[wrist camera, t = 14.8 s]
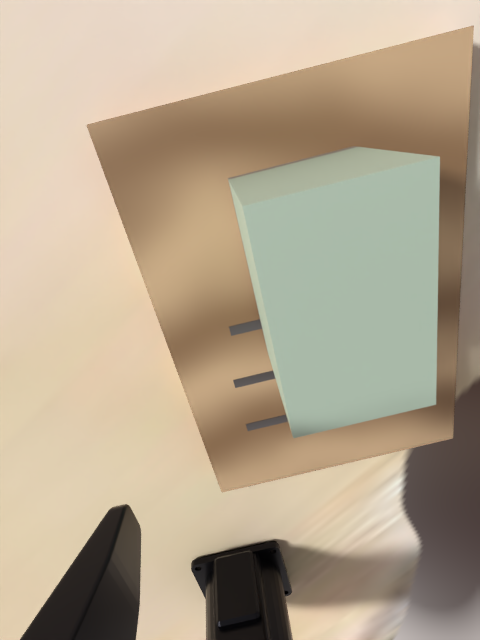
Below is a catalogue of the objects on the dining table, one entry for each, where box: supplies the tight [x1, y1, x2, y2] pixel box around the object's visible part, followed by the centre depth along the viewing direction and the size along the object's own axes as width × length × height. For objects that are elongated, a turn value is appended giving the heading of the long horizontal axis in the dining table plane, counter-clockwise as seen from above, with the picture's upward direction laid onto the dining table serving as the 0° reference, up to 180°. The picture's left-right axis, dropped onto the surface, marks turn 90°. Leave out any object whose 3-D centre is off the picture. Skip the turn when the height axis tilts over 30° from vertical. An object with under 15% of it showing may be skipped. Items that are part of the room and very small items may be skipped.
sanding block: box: [228, 146, 440, 438], centre depth 14 cm, size 8×5×6 cm, turn 13°
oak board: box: [87, 26, 474, 492], centre depth 19 cm, size 20×14×2 cm
